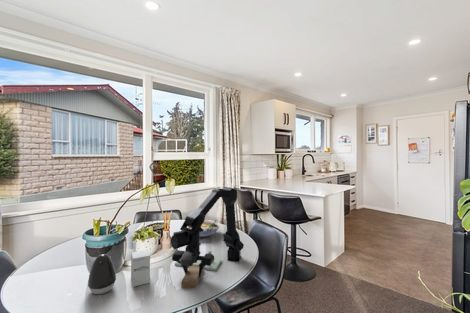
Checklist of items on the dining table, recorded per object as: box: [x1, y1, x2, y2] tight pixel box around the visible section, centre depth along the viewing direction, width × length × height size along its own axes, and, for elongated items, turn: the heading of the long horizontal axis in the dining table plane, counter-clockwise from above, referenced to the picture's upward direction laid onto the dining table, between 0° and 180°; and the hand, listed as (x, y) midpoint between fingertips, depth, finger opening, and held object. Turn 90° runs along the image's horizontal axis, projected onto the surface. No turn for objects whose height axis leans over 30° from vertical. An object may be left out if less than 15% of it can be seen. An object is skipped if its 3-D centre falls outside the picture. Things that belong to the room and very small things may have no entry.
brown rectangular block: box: [180, 264, 204, 290], centre depth 108 cm, size 15×6×3 cm, turn 174°
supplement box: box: [130, 249, 151, 288], centre depth 105 cm, size 7×7×13 cm
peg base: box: [174, 250, 222, 272], centre depth 122 cm, size 22×10×6 cm, turn 77°
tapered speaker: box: [87, 253, 117, 295], centre depth 98 cm, size 10×10×15 cm
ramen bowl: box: [187, 219, 221, 238], centre depth 163 cm, size 25×23×8 cm
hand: (193, 275), depth 108 cm, fingers closed on brown rectangular block, 6 cm apart
